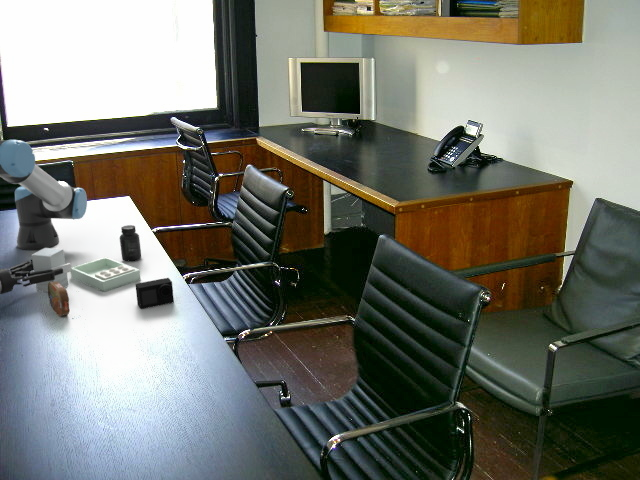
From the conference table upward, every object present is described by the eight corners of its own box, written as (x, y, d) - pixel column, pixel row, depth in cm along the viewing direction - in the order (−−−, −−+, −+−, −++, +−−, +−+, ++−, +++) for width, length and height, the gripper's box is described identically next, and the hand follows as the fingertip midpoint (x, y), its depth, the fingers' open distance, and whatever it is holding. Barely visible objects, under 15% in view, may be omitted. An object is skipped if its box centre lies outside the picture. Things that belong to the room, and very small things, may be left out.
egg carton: (96, 283, 258) (94, 271, 256) (124, 274, 265) (123, 262, 264) (106, 288, 254) (104, 275, 253) (134, 278, 261) (133, 266, 260)
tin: (48, 304, 244) (44, 279, 241) (58, 302, 246) (55, 276, 243) (62, 320, 232) (58, 294, 229) (72, 318, 234) (69, 291, 231)
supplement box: (69, 285, 259) (64, 248, 255) (55, 293, 252) (49, 256, 248) (50, 283, 261) (45, 247, 257) (36, 291, 255) (30, 254, 251)
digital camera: (141, 310, 237) (139, 289, 235) (137, 304, 242) (134, 283, 240) (175, 304, 242) (173, 282, 240) (170, 298, 246) (168, 277, 244)
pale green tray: (71, 277, 265) (70, 267, 264) (107, 266, 275) (106, 257, 274) (103, 292, 252) (102, 281, 251) (140, 279, 262) (139, 269, 261)
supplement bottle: (144, 255, 285) (140, 224, 281) (138, 262, 278) (134, 230, 275) (125, 255, 286) (122, 224, 282) (119, 262, 279) (115, 229, 275)
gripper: (-18, 286, 250) (47, 267, 266) (14, 303, 236) (81, 282, 251) (-22, 263, 248) (44, 245, 263) (11, 280, 234) (78, 260, 249)
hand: (62, 263), depth 257 cm, fingers closed on supplement box, 9 cm apart
